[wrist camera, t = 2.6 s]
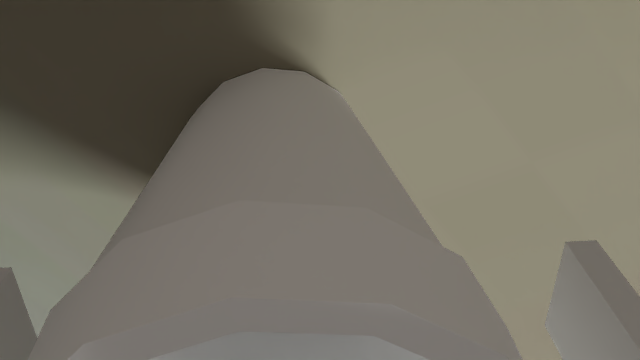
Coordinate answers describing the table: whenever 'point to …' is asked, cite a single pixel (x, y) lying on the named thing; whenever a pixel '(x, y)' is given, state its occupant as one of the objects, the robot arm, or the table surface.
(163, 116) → the table surface
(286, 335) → the foam cup
